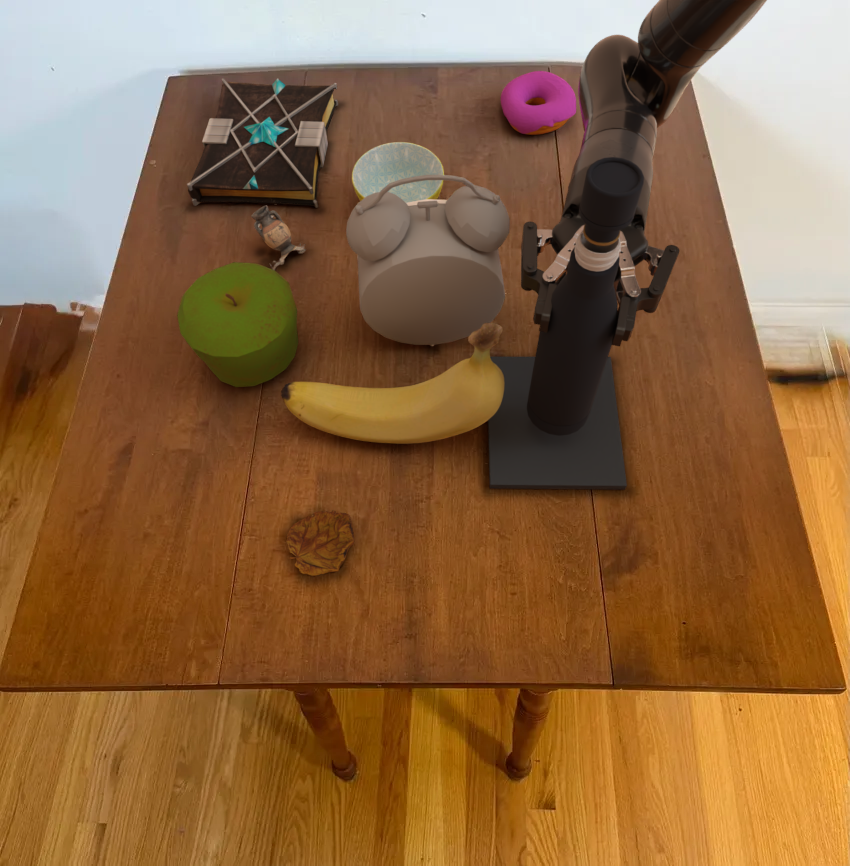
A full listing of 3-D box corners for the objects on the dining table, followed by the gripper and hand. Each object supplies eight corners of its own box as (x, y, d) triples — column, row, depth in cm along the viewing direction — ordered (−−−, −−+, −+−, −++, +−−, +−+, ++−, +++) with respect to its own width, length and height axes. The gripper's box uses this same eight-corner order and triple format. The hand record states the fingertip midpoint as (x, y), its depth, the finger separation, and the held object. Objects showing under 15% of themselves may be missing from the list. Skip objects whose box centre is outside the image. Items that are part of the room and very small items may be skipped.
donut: (494, 97, 104) (496, 68, 100) (563, 89, 105) (567, 60, 101) (508, 145, 99) (511, 117, 95) (580, 137, 100) (586, 108, 96)
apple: (272, 417, 79) (248, 359, 69) (180, 379, 82) (144, 318, 72) (326, 333, 85) (311, 268, 75) (238, 300, 87) (212, 233, 77)
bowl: (393, 257, 90) (390, 221, 85) (339, 207, 94) (333, 169, 89) (461, 214, 93) (463, 176, 88) (407, 167, 98) (404, 129, 92)
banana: (286, 444, 78) (240, 334, 60) (297, 399, 80) (256, 280, 63) (495, 463, 76) (511, 355, 58) (498, 416, 79) (514, 299, 61)
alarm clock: (496, 296, 87) (509, 138, 68) (505, 353, 82) (522, 199, 64) (360, 307, 86) (336, 150, 68) (363, 364, 82) (337, 213, 63)
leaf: (286, 519, 74) (281, 515, 72) (351, 505, 73) (347, 500, 72) (294, 581, 71) (289, 578, 70) (361, 566, 71) (357, 563, 69)
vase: (249, 246, 91) (237, 211, 86) (286, 227, 93) (276, 191, 88) (271, 272, 89) (260, 238, 84) (308, 252, 91) (299, 217, 86)
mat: (609, 361, 82) (610, 356, 81) (624, 489, 74) (627, 485, 73) (486, 361, 82) (486, 356, 81) (489, 488, 75) (490, 484, 74)
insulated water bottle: (551, 446, 72) (609, 224, 46) (514, 401, 75) (547, 167, 48) (601, 416, 73) (684, 183, 47) (563, 373, 76) (621, 131, 50)
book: (227, 100, 105) (217, 68, 101) (340, 103, 104) (335, 71, 100) (192, 207, 95) (180, 177, 91) (318, 211, 94) (312, 182, 90)
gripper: (536, 147, 65) (497, 287, 57) (699, 171, 63) (682, 320, 55) (529, 210, 71) (493, 344, 63) (676, 234, 69) (658, 375, 61)
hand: (581, 332), depth 59 cm, fingers closed on insulated water bottle, 5 cm apart
